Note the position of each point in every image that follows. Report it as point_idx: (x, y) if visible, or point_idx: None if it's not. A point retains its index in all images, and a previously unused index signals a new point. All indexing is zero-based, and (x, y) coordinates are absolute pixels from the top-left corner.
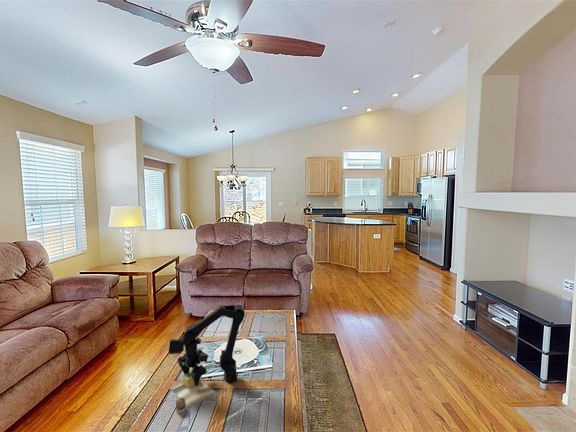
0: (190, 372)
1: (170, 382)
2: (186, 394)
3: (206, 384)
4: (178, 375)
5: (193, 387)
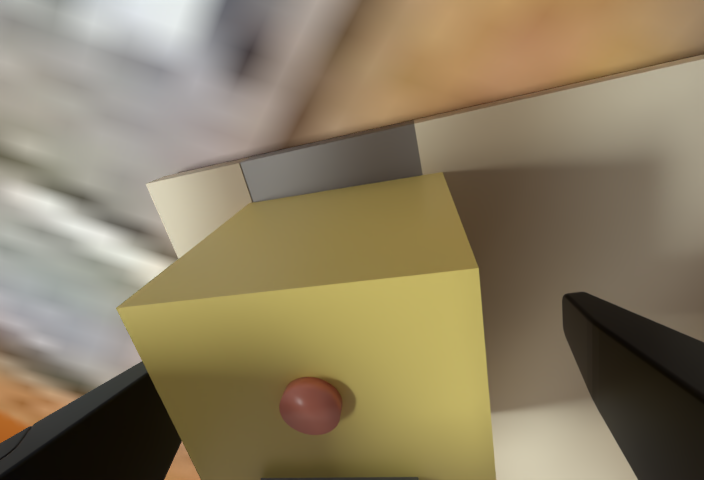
0: (206, 474)
1: (172, 470)
2: (625, 474)
3: (646, 73)
4: (43, 365)
5: (525, 342)
